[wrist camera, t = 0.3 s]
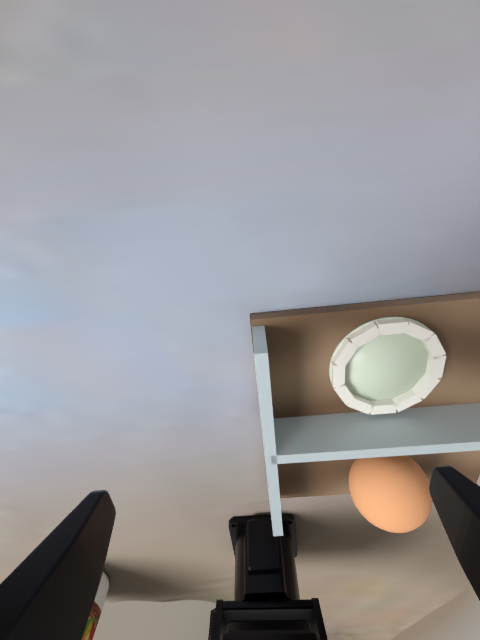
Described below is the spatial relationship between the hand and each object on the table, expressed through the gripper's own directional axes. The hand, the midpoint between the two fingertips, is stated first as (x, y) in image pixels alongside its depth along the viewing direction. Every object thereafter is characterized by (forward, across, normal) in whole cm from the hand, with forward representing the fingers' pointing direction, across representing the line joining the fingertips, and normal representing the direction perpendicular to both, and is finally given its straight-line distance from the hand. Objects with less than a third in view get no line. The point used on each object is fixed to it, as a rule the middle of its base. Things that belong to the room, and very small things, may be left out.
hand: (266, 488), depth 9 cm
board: (+14, -9, +10) cm, 19 cm away
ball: (+10, -9, +14) cm, 19 cm away
